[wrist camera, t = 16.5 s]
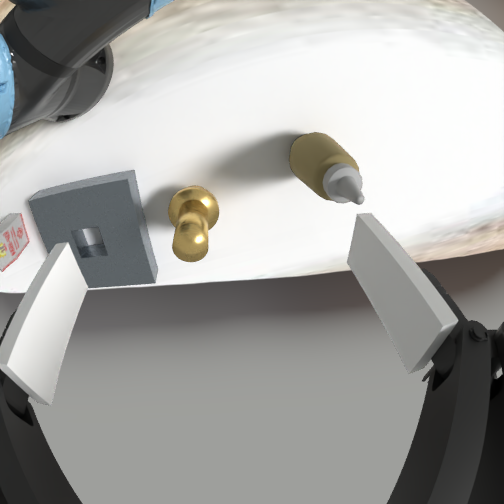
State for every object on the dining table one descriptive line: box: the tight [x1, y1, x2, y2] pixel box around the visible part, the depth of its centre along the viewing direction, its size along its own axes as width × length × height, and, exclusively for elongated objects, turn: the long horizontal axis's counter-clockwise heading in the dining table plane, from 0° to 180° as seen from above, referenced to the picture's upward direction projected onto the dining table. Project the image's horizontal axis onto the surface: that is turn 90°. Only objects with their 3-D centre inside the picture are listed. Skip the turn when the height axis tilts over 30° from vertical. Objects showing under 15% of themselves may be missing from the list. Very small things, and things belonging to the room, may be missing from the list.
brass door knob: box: [168, 186, 219, 262], centre depth 38 cm, size 8×8×14 cm
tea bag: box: [0, 213, 29, 272], centre depth 36 cm, size 4×7×10 cm, turn 173°
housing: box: [28, 170, 158, 288], centre depth 43 cm, size 20×20×4 cm
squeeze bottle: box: [289, 132, 364, 205], centre depth 34 cm, size 8×8×18 cm
